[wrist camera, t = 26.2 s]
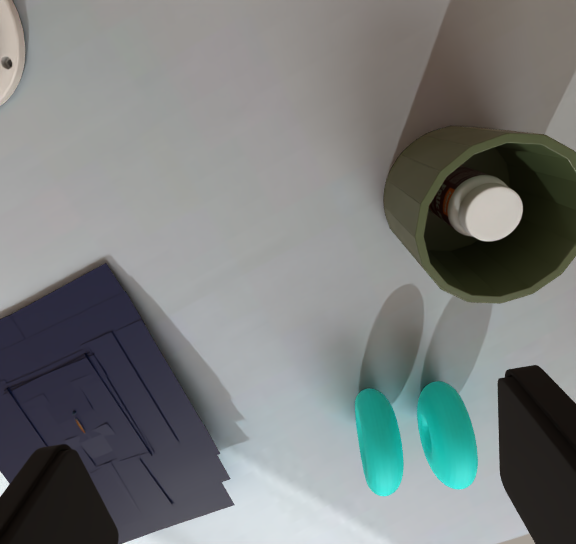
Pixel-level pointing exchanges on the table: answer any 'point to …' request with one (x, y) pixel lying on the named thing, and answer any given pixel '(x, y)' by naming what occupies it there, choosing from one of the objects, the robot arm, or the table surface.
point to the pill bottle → (477, 205)
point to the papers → (106, 406)
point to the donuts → (433, 432)
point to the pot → (469, 250)
